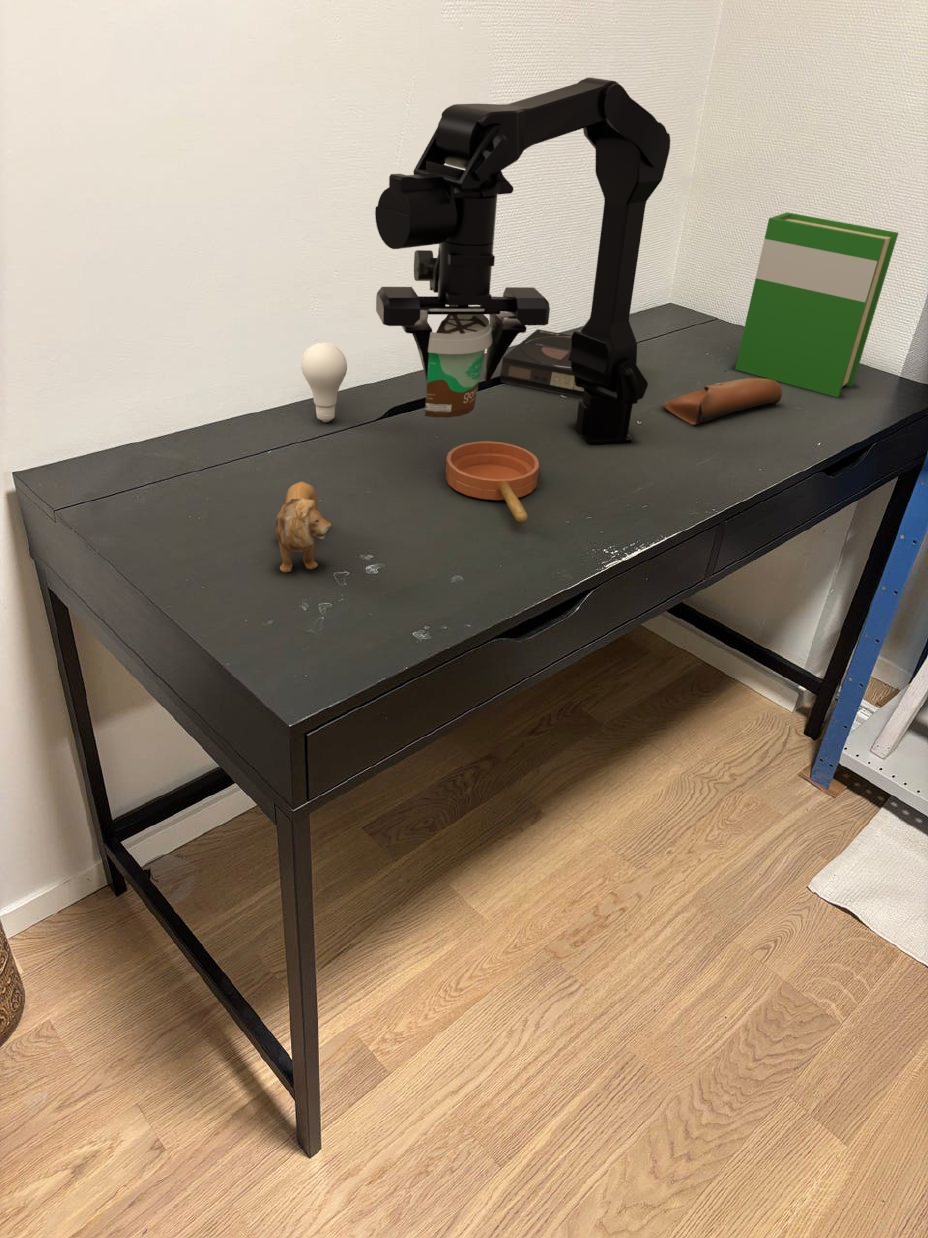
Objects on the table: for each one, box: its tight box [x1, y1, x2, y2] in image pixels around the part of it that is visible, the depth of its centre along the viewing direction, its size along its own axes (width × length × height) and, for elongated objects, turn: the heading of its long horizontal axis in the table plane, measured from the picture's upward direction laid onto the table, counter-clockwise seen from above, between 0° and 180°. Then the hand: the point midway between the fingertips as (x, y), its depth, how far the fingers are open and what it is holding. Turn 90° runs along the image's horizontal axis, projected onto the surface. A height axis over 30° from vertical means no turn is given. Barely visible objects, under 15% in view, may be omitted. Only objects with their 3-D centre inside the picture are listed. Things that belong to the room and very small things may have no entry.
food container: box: [424, 305, 492, 419], centre depth 109 cm, size 12×6×10 cm, turn 170°
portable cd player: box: [499, 328, 584, 400], centre depth 151 cm, size 16×17×4 cm
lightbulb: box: [300, 341, 348, 423], centre depth 128 cm, size 6×6×11 cm
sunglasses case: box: [663, 377, 783, 426], centre depth 143 cm, size 18×7×7 cm, turn 125°
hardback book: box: [734, 211, 899, 398], centre depth 151 cm, size 18×7×24 cm, turn 53°
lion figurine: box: [275, 481, 332, 573], centre depth 99 cm, size 15×5×9 cm, turn 13°
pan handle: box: [499, 481, 529, 524], centre depth 110 cm, size 1×9×1 cm, turn 13°
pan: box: [445, 440, 540, 501], centre depth 118 cm, size 11×11×3 cm
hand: (458, 380), depth 110 cm, fingers closed on food container, 6 cm apart
